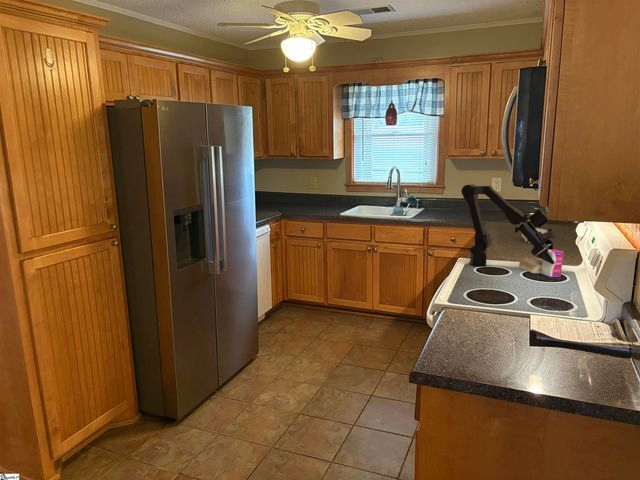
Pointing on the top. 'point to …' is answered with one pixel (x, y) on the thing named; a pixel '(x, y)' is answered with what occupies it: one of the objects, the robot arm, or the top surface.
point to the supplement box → (555, 268)
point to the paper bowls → (537, 230)
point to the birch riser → (532, 265)
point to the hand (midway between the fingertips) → (555, 261)
